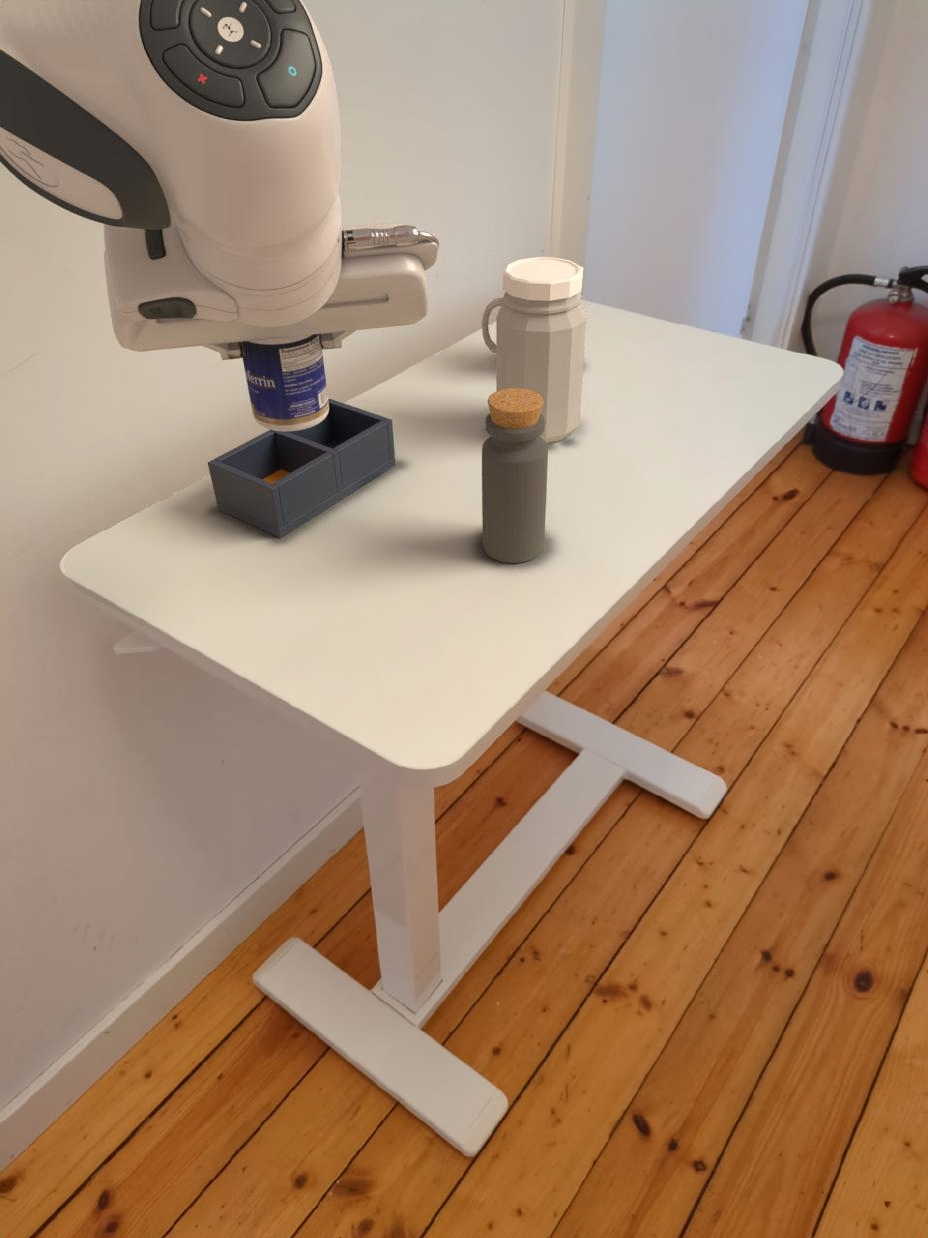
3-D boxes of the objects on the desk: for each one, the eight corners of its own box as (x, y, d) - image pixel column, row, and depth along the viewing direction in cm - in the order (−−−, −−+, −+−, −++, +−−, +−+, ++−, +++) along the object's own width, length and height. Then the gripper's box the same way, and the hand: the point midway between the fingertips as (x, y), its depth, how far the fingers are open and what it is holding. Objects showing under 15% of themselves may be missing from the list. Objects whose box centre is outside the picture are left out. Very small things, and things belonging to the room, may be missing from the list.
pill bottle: (240, 415, 68) (214, 282, 62) (304, 393, 71) (285, 264, 64) (279, 441, 64) (256, 303, 58) (345, 417, 67) (329, 283, 61)
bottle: (521, 571, 82) (524, 421, 72) (470, 550, 85) (467, 402, 75) (556, 542, 85) (563, 395, 76) (505, 522, 88) (507, 378, 79)
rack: (280, 538, 87) (271, 489, 84) (217, 510, 91) (207, 462, 88) (395, 465, 98) (392, 419, 94) (334, 443, 102) (329, 398, 99)
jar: (532, 456, 99) (537, 291, 87) (479, 424, 105) (477, 266, 94) (598, 430, 103) (610, 270, 92) (543, 401, 109) (548, 248, 98)
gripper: (433, 177, 53) (415, 289, 67) (73, 203, 50) (131, 316, 63) (451, 277, 52) (428, 370, 66) (87, 311, 49) (142, 401, 63)
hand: (280, 344), depth 65 cm, fingers closed on pill bottle, 6 cm apart
